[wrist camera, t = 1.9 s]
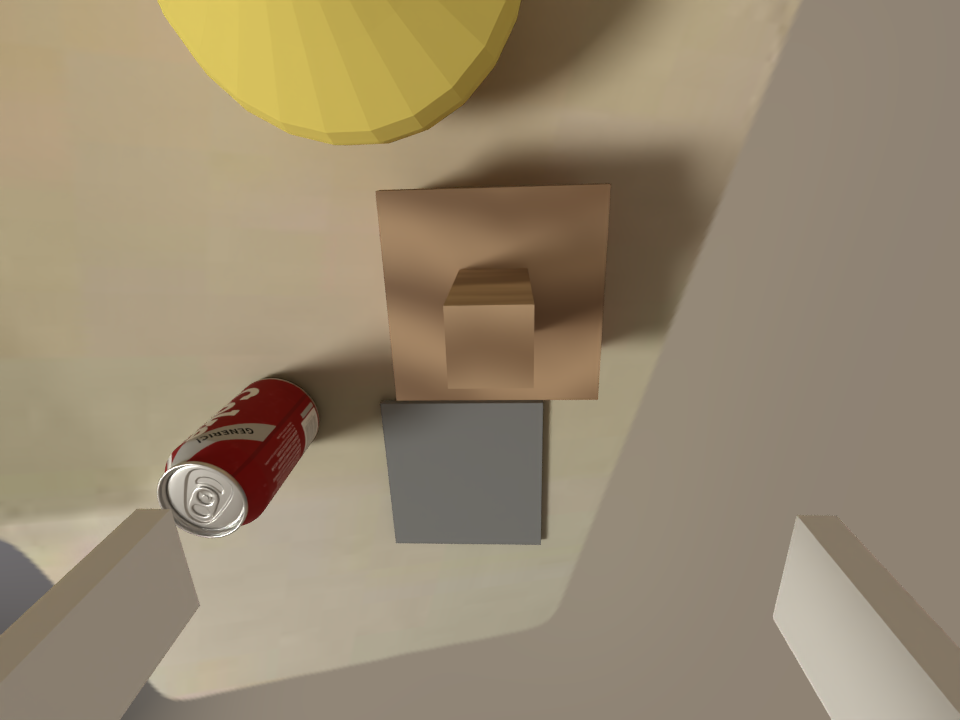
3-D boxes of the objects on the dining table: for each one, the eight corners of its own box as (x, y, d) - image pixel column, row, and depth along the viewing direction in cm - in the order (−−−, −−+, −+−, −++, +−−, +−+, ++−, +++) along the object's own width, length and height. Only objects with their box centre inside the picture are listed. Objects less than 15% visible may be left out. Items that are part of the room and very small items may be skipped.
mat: (382, 400, 41) (380, 403, 41) (542, 399, 40) (543, 403, 40) (397, 538, 46) (396, 543, 46) (540, 540, 46) (540, 544, 45)
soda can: (334, 396, 41) (270, 483, 30) (307, 459, 44) (238, 561, 32) (256, 360, 40) (160, 436, 29) (232, 426, 43) (135, 519, 32)
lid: (380, 190, 29) (328, 201, 21) (606, 183, 29) (649, 192, 20) (400, 392, 34) (364, 470, 26) (594, 391, 33) (624, 470, 25)
